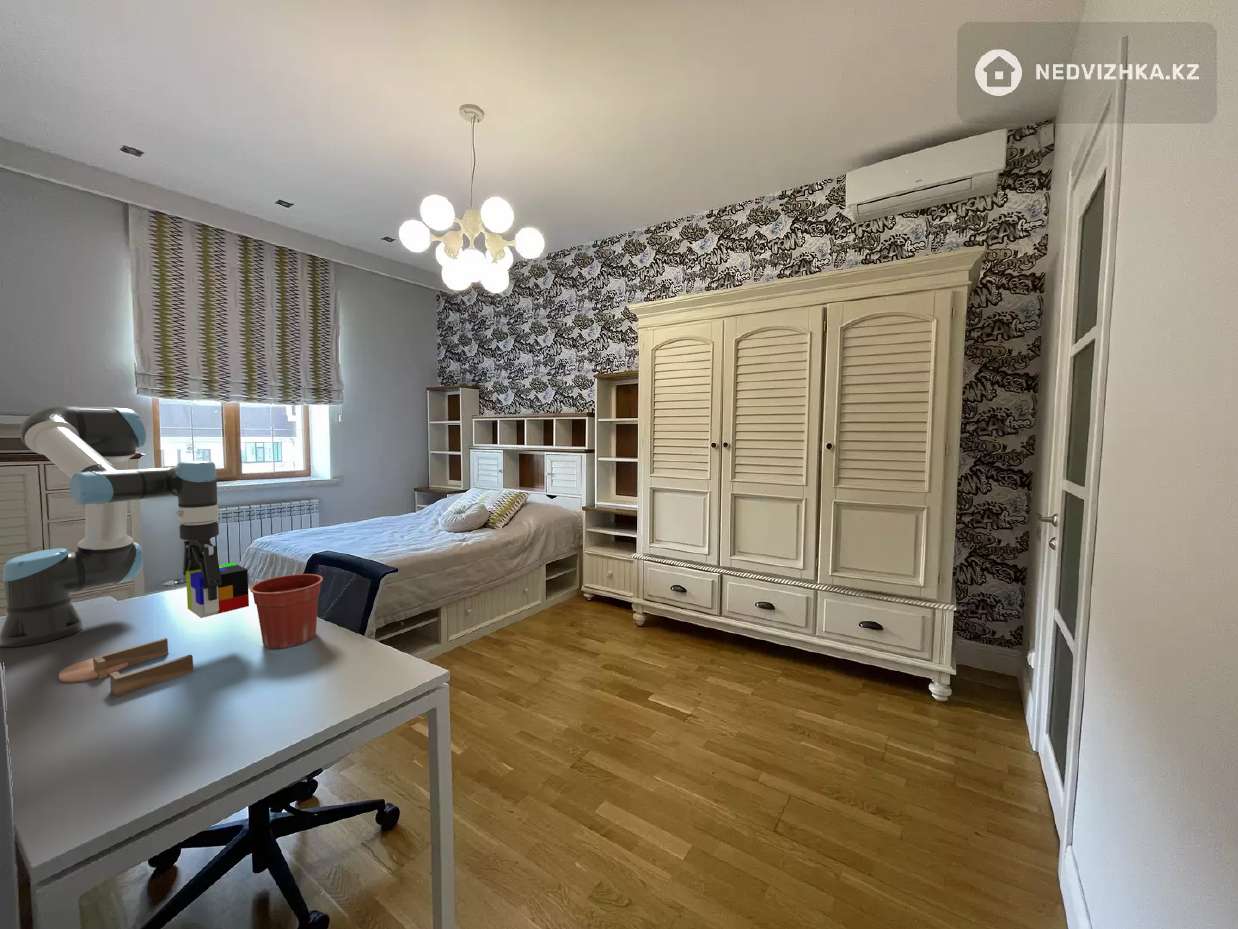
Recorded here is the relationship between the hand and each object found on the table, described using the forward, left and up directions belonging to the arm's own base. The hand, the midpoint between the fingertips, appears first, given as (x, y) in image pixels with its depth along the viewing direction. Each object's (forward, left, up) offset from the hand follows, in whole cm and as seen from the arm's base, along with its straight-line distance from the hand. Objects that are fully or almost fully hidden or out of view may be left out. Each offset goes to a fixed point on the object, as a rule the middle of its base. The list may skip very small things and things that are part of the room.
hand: (203, 607), depth 125 cm
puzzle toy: (0, +3, -1) cm, 3 cm away
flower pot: (+9, +16, -12) cm, 22 cm away
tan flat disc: (-12, -17, -12) cm, 24 cm away
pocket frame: (0, -12, -12) cm, 17 cm away
